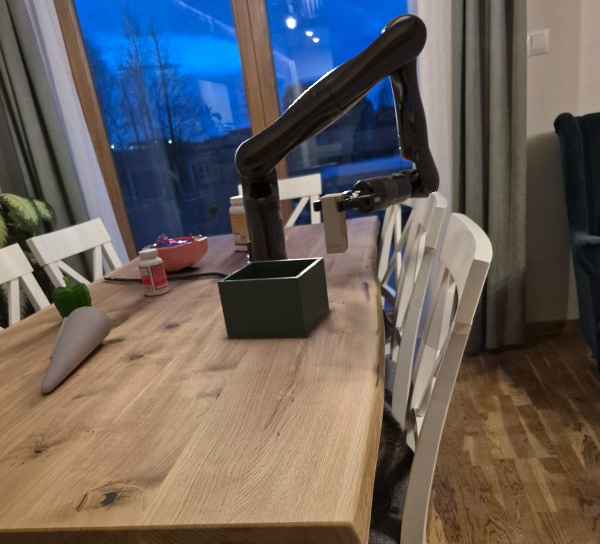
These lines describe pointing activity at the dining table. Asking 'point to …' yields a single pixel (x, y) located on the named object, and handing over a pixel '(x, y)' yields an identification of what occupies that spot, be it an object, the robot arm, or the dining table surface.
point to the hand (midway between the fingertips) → (326, 207)
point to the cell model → (180, 251)
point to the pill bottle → (152, 273)
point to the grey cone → (75, 343)
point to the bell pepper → (71, 297)
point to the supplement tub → (238, 223)
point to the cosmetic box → (334, 224)
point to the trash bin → (274, 298)
